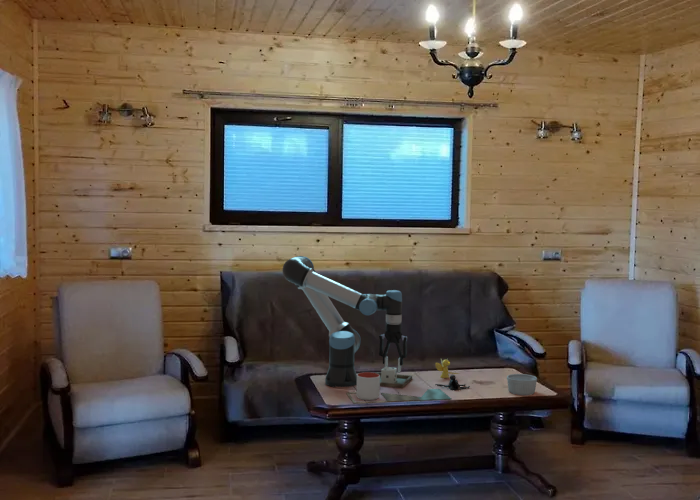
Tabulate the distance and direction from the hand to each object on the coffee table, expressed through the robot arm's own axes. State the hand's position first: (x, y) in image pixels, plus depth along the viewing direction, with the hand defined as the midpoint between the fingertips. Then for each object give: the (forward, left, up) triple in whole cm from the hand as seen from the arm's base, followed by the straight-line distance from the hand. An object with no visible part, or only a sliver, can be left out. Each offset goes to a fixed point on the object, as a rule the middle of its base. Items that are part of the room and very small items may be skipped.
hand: (392, 371), depth 340 cm
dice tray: (0, -7, -4) cm, 8 cm away
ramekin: (+60, -1, -4) cm, 60 cm away
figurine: (+25, +13, -4) cm, 29 cm away
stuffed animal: (+29, -4, -5) cm, 30 cm away
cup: (-2, -35, -4) cm, 35 cm away
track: (+10, -28, -4) cm, 30 cm away
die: (0, -7, -3) cm, 7 cm away
